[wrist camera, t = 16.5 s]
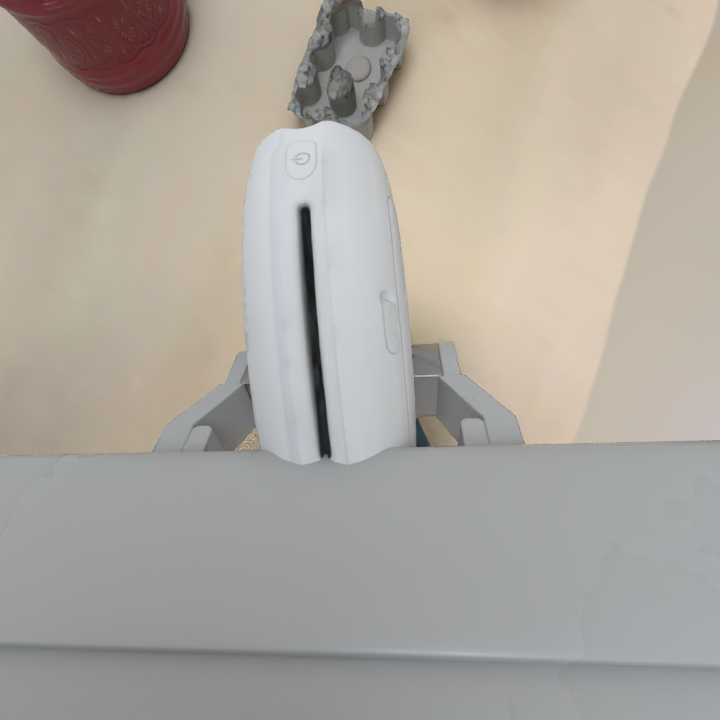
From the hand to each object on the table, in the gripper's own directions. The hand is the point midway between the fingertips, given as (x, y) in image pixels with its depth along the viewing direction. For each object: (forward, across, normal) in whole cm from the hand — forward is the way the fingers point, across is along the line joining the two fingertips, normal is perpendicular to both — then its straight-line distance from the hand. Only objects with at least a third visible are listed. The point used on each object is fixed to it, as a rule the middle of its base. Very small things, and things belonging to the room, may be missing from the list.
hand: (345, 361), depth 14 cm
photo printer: (+6, 0, +4) cm, 7 cm away
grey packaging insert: (+32, +1, -4) cm, 32 cm away
